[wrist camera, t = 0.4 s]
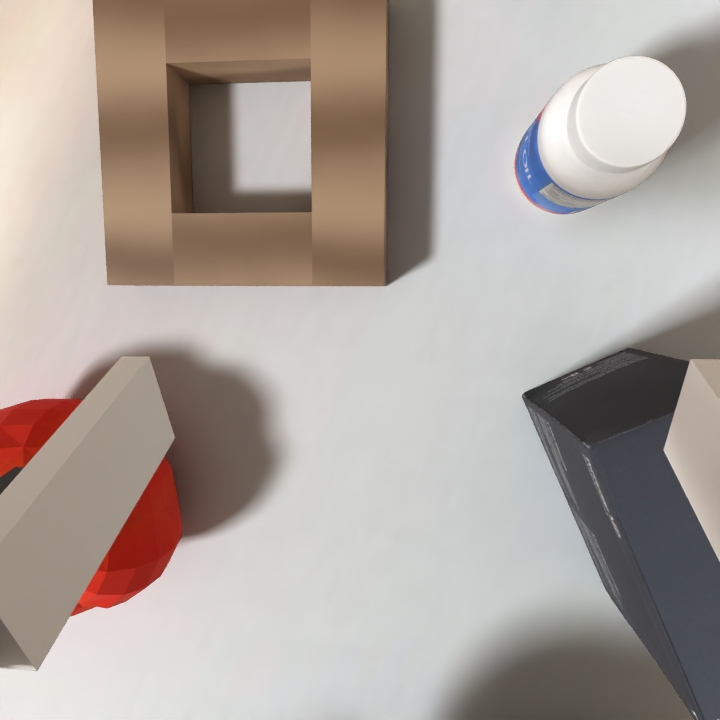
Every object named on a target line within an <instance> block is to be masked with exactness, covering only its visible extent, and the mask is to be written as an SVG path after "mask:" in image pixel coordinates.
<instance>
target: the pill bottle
mask: <svg viewBox="0 0 720 720" xmlns="http://www.w3.org/2000/svg"><path fill="white" fill-rule="evenodd" d="M685 116H686V96H685V92H684V89H683V86H682V84H681V81H680V80H679V78H678V77H677V75H676V74H675V73H674V72H673V71H672V70H671V69H670V68H669V67H668V66H666V65H665V64H664V63H662V62H660V61H658V60H656V59H653V58H650V57H645V56H628V57H622V58H619V59H616V60H613V61H611V62H609V63H607V64H601V65H596V66H593V67H590V68H587V69H585V70H583V71H581V72H579V73H577V74H576V75H574V76H573V77H571V78H570V79H569V80H568V81H566V82H565V83H564V84H563V85H562V86H561V87H560V88H559V89H558V90H557V91H556V93H555V94H554V95H553V96H552V98H551V99H550V100H549V102H548V103H547V104H546V106H545V107H544V109H543V110H542V111H541V113H540V114H539V115H538V117H537V118H536V119H535V121H534V122H533V123H532V125H531V126H530V127H529V129H528V130H527V131H526V133H525V134H524V136H523V137H522V139H521V141H520V143H519V146H518V149H517V152H516V156H515V163H514V169H515V176H516V180H517V183H518V186H519V188H520V190H521V192H522V193H523V195H524V196H525V197H526V198H527V199H528V200H529V201H530V202H531V203H532V204H533V205H535V206H536V207H538V208H540V209H542V210H544V211H546V212H550V213H554V214H573V213H577V212H580V211H583V210H586V209H588V208H591V207H593V206H595V205H598V204H600V203H603V202H605V201H607V200H610V199H612V198H615V197H617V196H619V195H622V194H624V193H626V192H628V191H630V190H632V189H633V188H635V187H637V186H638V185H640V184H641V183H642V182H644V181H645V180H646V179H647V178H648V177H650V176H651V175H652V174H653V172H654V171H655V170H656V169H657V168H658V167H659V165H660V164H661V162H662V161H663V159H664V157H665V156H666V153H667V151H668V149H669V148H670V147H671V146H672V144H673V143H674V142H675V140H676V139H677V137H678V136H679V134H680V132H681V130H682V127H683V125H684V121H685Z"/></svg>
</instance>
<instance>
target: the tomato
mask: <svg viewBox="0 0 720 720" xmlns="http://www.w3.org/2000/svg"><path fill="white" fill-rule="evenodd" d="M81 402H82V400H80V399H40V400H30V401H27V402H24V403H21V404H17V405H14V406H11V407H8V408H4V409H1V410H0V477H1V476H3V475H4V474H6V473H7V472H8V471H10V470H11V469H13V468H14V467H25V466H26V465H27V464H28V463H29V461H30V460H31V459H32V458H33V457H34V456H35V455H36V454H37V452H38V451H39V450H40V449H41V448H42V447H43V446H44V444H45V443H46V442H47V441H48V440H49V439H50V438H51V436H52V435H53V434H54V433H55V432H56V431H57V430H58V428H59V427H60V426H61V425H62V424H63V423H64V422H65V420H66V419H67V418H68V417H69V416H70V415H71V414H72V412H73V411H74V410H75V409H76V408H77V407H78V406H79V404H80V403H81ZM181 536H182V521H181V515H180V508H179V502H178V496H177V491H176V486H175V481H174V476H173V471H172V467H171V466H170V464H169V462H168V461H167V459H166V457H165V456H164V458H163V459H162V461H161V463H160V465H159V466H158V468H157V470H156V471H155V473H154V475H153V476H152V478H151V480H150V481H149V483H148V485H147V486H146V488H145V490H144V492H143V493H142V495H141V497H140V498H139V500H138V502H137V503H136V505H135V507H134V508H133V510H132V512H131V514H130V515H129V517H128V519H127V520H126V522H125V524H124V525H123V527H122V529H121V530H120V532H119V534H118V535H117V537H116V539H115V541H114V542H113V544H112V546H111V547H110V549H109V551H108V552H107V554H106V556H105V557H104V559H103V561H102V563H101V564H100V566H99V568H98V569H97V571H96V573H95V574H94V576H93V578H92V579H91V581H90V583H89V584H88V586H87V588H86V590H85V591H84V593H83V595H82V596H81V598H80V600H79V601H78V603H77V605H76V606H75V608H74V610H73V612H72V613H71V615H70V616H73V615H76V614H79V613H81V612H84V611H86V610H89V609H92V608H94V607H102V608H110V607H112V606H115V605H118V604H120V603H123V602H126V601H127V600H129V599H130V598H132V597H133V596H134V595H136V594H137V593H139V592H140V591H142V590H143V589H145V588H146V587H147V586H149V585H150V584H151V583H152V582H154V581H155V580H156V579H158V578H159V577H160V576H161V575H162V573H163V571H164V569H165V568H166V566H167V564H168V563H169V561H170V559H171V557H172V555H173V553H174V551H175V549H176V547H177V544H178V542H179V540H180V538H181Z"/></svg>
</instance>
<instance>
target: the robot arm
mask: <svg viewBox="0 0 720 720" xmlns="http://www.w3.org/2000/svg"><path fill="white" fill-rule="evenodd" d="M174 439H175V436H174V433H173V429H172V426H171V423H170V420H169V417H168V414H167V410H166V407H165V404H164V401H163V398H162V395H161V392H160V388H159V385H158V382H157V379H156V376H155V373H154V369H153V366H152V363H151V360H150V357H149V356H121V358H120V359H119V360H118V361H117V362H116V363H115V364H114V366H113V367H112V368H111V369H110V370H109V371H108V372H107V374H106V375H105V376H104V377H103V378H102V379H101V380H100V382H99V383H98V384H97V385H96V386H95V387H94V388H93V390H92V391H91V392H90V393H89V394H88V395H87V396H86V398H85V399H84V400H83V401H82V402H81V403H80V404H79V406H78V407H77V408H76V409H75V410H74V411H73V412H72V414H71V415H70V416H69V417H68V418H67V419H66V420H65V422H64V423H63V424H62V425H61V426H60V427H59V428H58V430H57V431H56V432H55V433H54V434H53V435H52V436H51V438H50V439H49V440H48V441H47V442H46V443H45V444H44V446H43V447H42V448H41V449H40V450H39V451H38V452H37V454H36V455H35V456H34V457H33V458H32V459H31V460H30V461H29V463H28V464H27V465H26V466H25V467H14V468H13V469H11V470H10V471H8V472H7V473H6V474H4V475H3V476H1V477H0V668H4V669H15V670H27V671H38V669H39V667H40V666H41V664H42V662H43V661H44V659H45V657H46V655H47V654H48V652H49V650H50V649H51V647H52V645H53V644H54V642H55V640H56V639H57V637H58V635H59V633H60V632H61V630H62V628H63V627H64V625H65V623H66V622H67V620H68V618H69V617H70V615H71V613H72V612H73V610H74V608H75V606H76V605H77V603H78V601H79V600H80V598H81V596H82V595H83V593H84V591H85V590H86V588H87V586H88V584H89V583H90V581H91V579H92V578H93V576H94V574H95V573H96V571H97V569H98V568H99V566H100V564H101V563H102V561H103V559H104V557H105V556H106V554H107V552H108V551H109V549H110V547H111V546H112V544H113V542H114V541H115V539H116V537H117V535H118V534H119V532H120V530H121V529H122V527H123V525H124V524H125V522H126V520H127V519H128V517H129V515H130V514H131V512H132V510H133V508H134V507H135V505H136V503H137V502H138V500H139V498H140V497H141V495H142V493H143V492H144V490H145V488H146V486H147V485H148V483H149V481H150V480H151V478H152V476H153V475H154V473H155V471H156V470H157V468H158V466H159V465H160V463H161V461H162V459H163V458H164V456H165V454H166V453H167V451H168V449H169V448H170V446H171V444H172V443H173V441H174ZM664 452H665V454H666V456H667V458H668V460H669V462H670V464H671V466H672V468H673V470H674V472H675V474H676V476H677V478H678V480H679V482H680V484H681V486H682V488H683V490H684V492H685V494H686V496H687V498H688V500H689V502H690V504H691V506H692V508H693V510H694V512H695V514H696V516H697V518H698V520H699V522H700V524H701V526H702V528H703V530H704V532H705V534H706V536H707V538H708V540H709V542H710V544H711V546H712V548H713V550H714V552H715V554H716V556H717V558H718V560H719V562H720V359H690V363H689V366H688V369H687V373H686V376H685V379H684V383H683V386H682V389H681V393H680V396H679V399H678V403H677V406H676V410H675V413H674V416H673V420H672V423H671V426H670V430H669V433H668V436H667V440H666V443H665V447H664Z"/></svg>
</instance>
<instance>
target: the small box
mask: <svg viewBox="0 0 720 720" xmlns="http://www.w3.org/2000/svg"><path fill="white" fill-rule="evenodd" d="M689 363H690V362H689V361H684V360H679V359H674V358H671V357H666V356H662V355H657V354H653V353H648V352H644V351H640V350H636V349H632V348H629V349H626V350H624V351H621V352H619V353H617V354H615V355H612V356H609V357H607V358H604V359H602V360H600V361H598V362H595V363H593V364H591V365H588V366H586V367H584V368H581V369H579V370H577V371H574V372H572V373H569V374H567V375H565V376H562V377H560V378H558V379H556V380H553V381H551V382H548V383H546V384H544V385H542V386H539V387H537V388H535V389H533V390H530V391H528V392H525V393H524V394H523V395H522V398H523V400H524V402H525V405H526V407H527V409H528V411H529V413H530V416H531V418H532V421H533V423H534V425H535V428H536V430H537V432H538V435H539V437H540V439H541V442H542V444H543V446H544V449H545V451H546V453H547V456H548V458H549V460H550V463H551V465H552V467H553V469H554V472H555V474H556V476H557V478H558V480H559V483H560V486H561V488H562V490H563V492H564V495H565V497H566V499H567V502H568V504H569V506H570V508H571V511H572V513H573V516H574V518H575V520H576V522H577V525H578V527H579V529H580V531H581V534H582V536H583V538H584V541H585V543H586V545H587V548H588V550H589V553H590V555H591V557H592V560H593V562H594V564H595V566H596V569H597V571H598V573H599V576H600V578H601V580H602V582H603V585H604V587H605V589H606V591H607V592H608V594H609V595H610V597H611V599H612V601H613V602H614V603H615V605H616V606H617V607H618V609H619V610H620V612H621V613H622V615H623V616H624V618H625V619H626V620H627V622H628V623H629V624H630V626H631V627H632V628H633V630H634V631H635V632H636V634H637V635H638V637H639V638H640V639H641V641H642V642H643V644H644V645H645V646H646V648H647V649H648V651H649V652H650V653H651V655H652V657H653V658H654V659H655V660H656V662H657V663H658V665H659V666H660V668H661V669H662V671H663V673H664V674H665V675H666V677H667V678H668V680H669V681H670V683H671V684H672V685H673V687H674V689H675V690H676V692H677V693H678V695H679V696H680V698H681V699H682V700H683V702H684V704H685V705H686V707H687V708H688V710H689V711H690V713H691V715H692V716H693V717H694V719H695V720H720V562H719V560H718V558H717V556H716V554H715V552H714V550H713V548H712V546H711V544H710V542H709V540H708V538H707V536H706V534H705V532H704V530H703V528H702V526H701V524H700V522H699V520H698V518H697V516H696V514H695V512H694V510H693V508H692V506H691V504H690V502H689V500H688V498H687V496H686V494H685V492H684V490H683V488H682V486H681V484H680V482H679V480H678V478H677V476H676V474H675V472H674V470H673V468H672V466H671V464H670V462H669V460H668V458H667V456H666V454H665V452H664V447H665V443H666V440H667V436H668V433H669V430H670V426H671V423H672V420H673V416H674V413H675V410H676V406H677V403H678V399H679V396H680V393H681V389H682V386H683V383H684V379H685V376H686V373H687V369H688V366H689Z"/></svg>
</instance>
